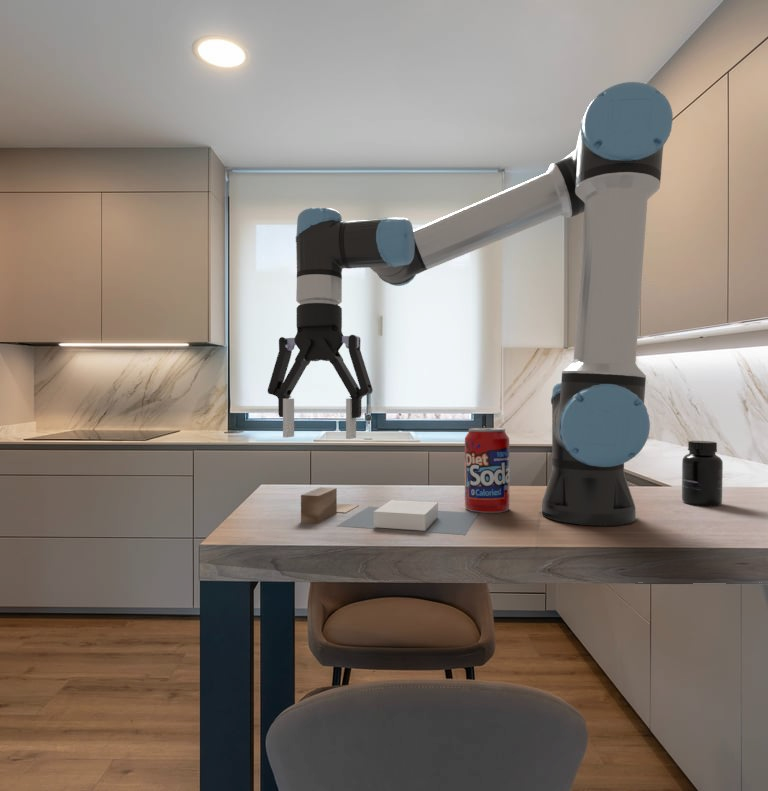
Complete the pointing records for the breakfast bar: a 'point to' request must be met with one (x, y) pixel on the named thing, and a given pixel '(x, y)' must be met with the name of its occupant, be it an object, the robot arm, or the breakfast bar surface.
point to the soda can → (487, 470)
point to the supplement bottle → (702, 474)
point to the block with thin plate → (321, 505)
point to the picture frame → (406, 515)
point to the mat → (443, 524)
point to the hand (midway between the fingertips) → (319, 437)
